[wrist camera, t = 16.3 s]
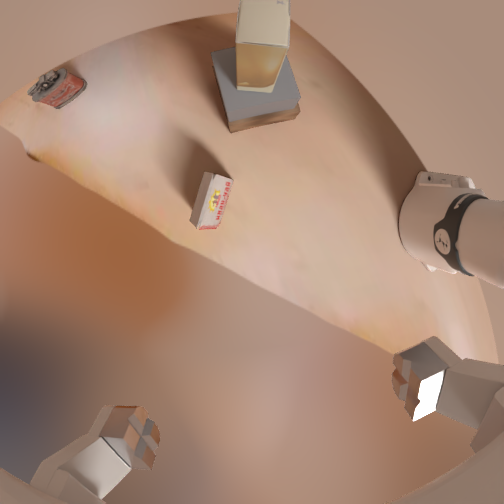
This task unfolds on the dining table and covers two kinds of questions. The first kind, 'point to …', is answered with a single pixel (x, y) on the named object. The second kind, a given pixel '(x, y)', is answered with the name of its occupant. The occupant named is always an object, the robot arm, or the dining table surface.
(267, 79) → the skincare box
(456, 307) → the dining table surface
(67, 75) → the lighter
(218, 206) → the white red printed carton
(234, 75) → the tower top block
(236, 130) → the tower base block
